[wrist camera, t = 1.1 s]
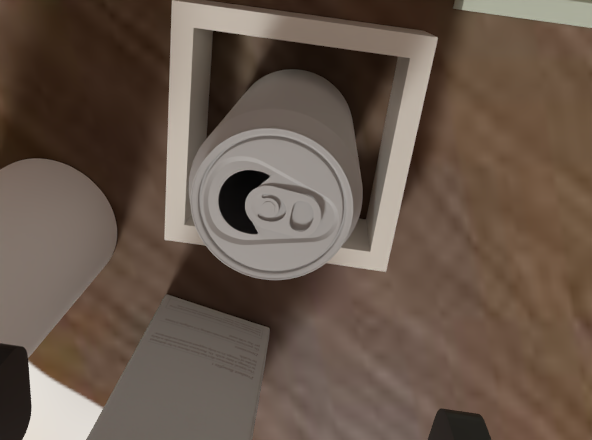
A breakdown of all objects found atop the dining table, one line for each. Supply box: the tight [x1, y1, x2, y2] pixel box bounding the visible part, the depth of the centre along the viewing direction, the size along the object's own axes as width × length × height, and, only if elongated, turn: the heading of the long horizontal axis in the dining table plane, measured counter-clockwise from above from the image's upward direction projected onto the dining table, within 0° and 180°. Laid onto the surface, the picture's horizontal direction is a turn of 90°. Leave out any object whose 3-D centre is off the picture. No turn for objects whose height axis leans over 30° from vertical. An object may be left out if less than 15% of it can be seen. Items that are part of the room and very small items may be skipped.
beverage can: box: [189, 69, 363, 280], centre depth 24 cm, size 6×6×12 cm
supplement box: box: [86, 294, 270, 440], centre depth 30 cm, size 7×7×13 cm
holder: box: [165, 0, 438, 272], centre depth 27 cm, size 12×12×4 cm
